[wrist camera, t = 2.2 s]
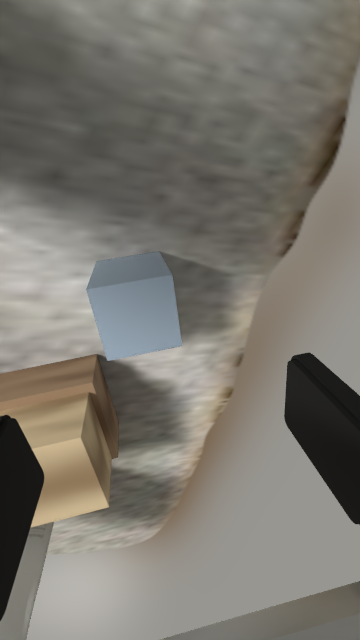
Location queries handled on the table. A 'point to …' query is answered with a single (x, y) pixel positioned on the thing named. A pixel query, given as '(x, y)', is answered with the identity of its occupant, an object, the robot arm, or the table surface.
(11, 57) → the table surface
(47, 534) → the skincare box
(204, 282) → the table surface
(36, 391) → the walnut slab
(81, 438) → the oak slab
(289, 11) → the table surface
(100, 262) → the blue block
